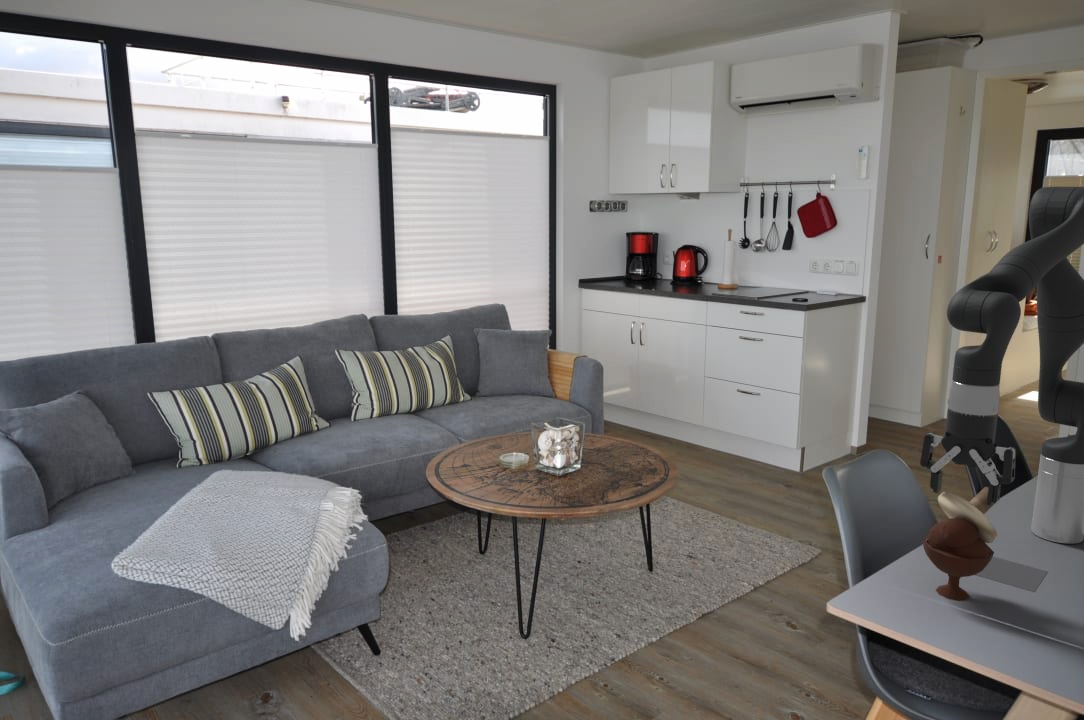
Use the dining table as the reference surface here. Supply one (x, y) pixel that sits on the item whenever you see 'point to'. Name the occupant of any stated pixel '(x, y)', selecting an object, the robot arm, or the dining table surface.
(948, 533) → the ice cream bowl
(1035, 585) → the mat
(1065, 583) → the dining table surface
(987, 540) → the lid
